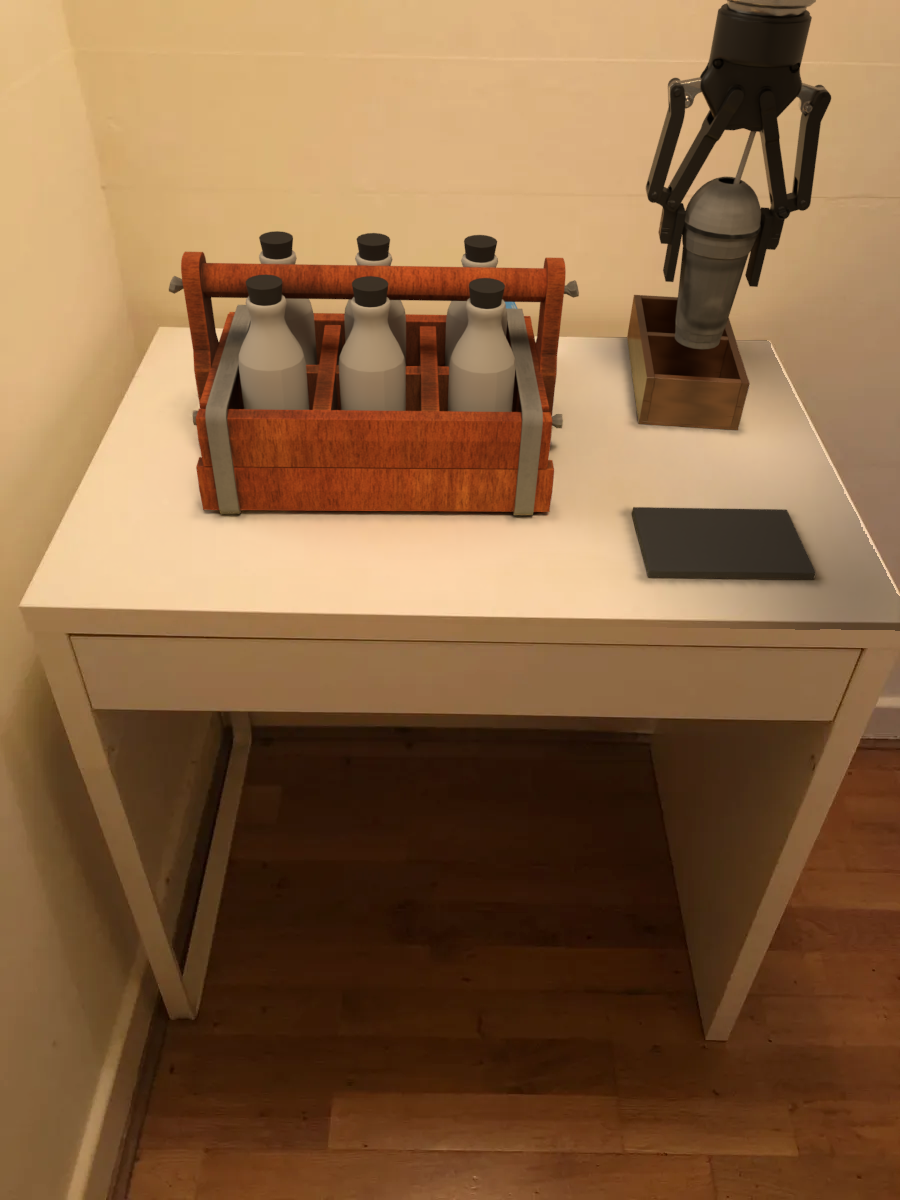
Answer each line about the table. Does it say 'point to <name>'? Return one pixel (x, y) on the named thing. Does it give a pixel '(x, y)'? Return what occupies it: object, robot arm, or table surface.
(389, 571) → the table surface
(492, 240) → the milk bottle holder
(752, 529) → the mat
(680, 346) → the wooden compartment box
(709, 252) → the beverage cup
